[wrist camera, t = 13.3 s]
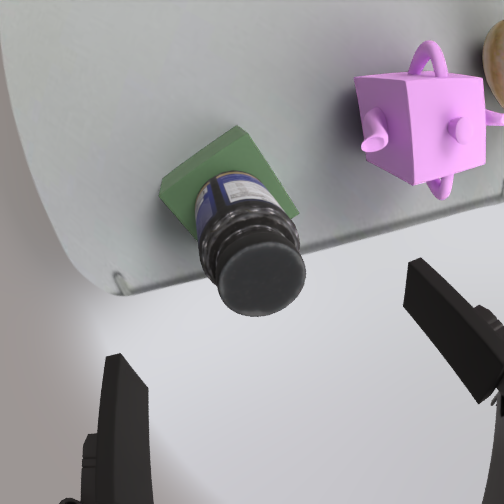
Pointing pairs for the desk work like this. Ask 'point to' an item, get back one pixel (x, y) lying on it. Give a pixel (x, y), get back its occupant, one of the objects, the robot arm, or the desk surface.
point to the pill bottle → (248, 245)
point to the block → (211, 164)
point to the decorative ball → (495, 61)
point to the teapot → (424, 121)
